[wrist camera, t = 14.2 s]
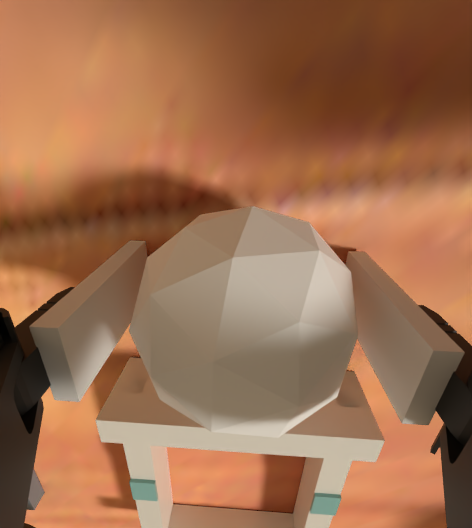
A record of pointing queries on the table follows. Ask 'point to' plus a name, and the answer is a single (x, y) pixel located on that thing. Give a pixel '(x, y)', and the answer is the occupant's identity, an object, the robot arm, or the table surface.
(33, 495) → the stand board
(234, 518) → the frame
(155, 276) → the geometric ball
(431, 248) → the table surface
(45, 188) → the table surface
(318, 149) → the table surface
